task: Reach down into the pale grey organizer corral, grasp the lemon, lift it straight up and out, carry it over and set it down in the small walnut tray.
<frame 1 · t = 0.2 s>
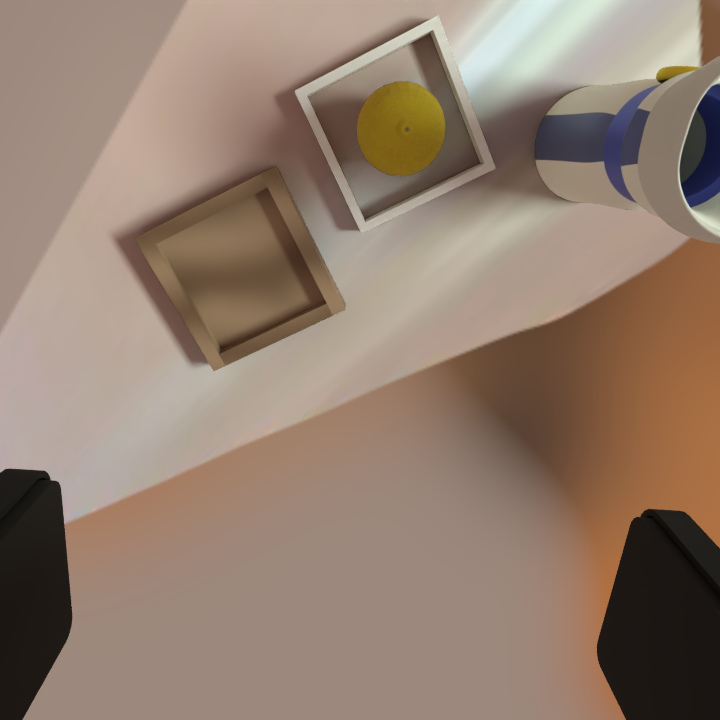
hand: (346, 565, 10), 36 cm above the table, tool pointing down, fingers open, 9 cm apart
water bottle: (585, 142, 42), on the table
corral: (395, 130, 42), on the table
tray: (245, 269, 45), on the table
lemon: (395, 130, 42), resting in corral
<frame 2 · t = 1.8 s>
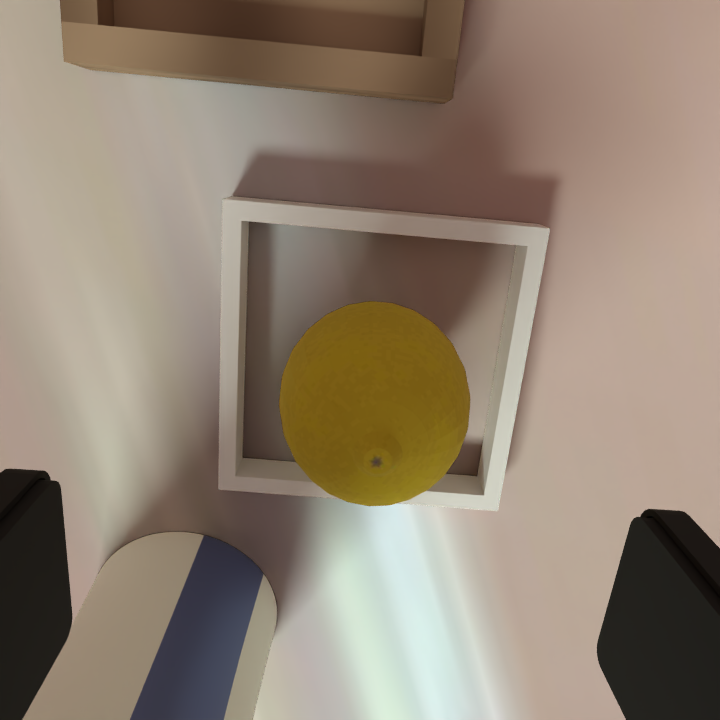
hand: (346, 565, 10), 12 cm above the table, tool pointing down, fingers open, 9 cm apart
water bottle: (192, 605, 25), on the table
corral: (371, 355, 22), on the table
lemon: (371, 353, 22), resting in corral
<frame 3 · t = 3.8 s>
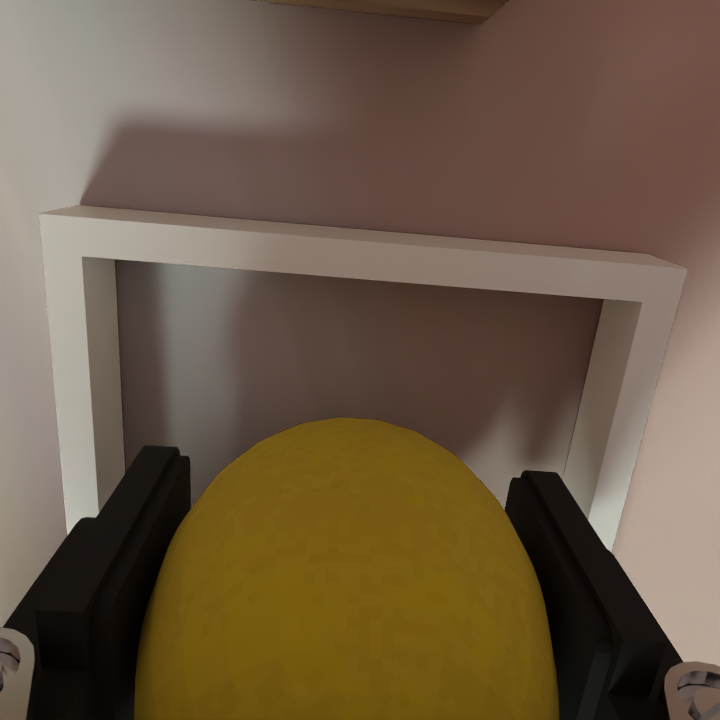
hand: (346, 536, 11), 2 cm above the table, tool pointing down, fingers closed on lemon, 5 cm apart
corral: (346, 479, 12), on the table
lemon: (346, 474, 13), resting in corral, touching gripper
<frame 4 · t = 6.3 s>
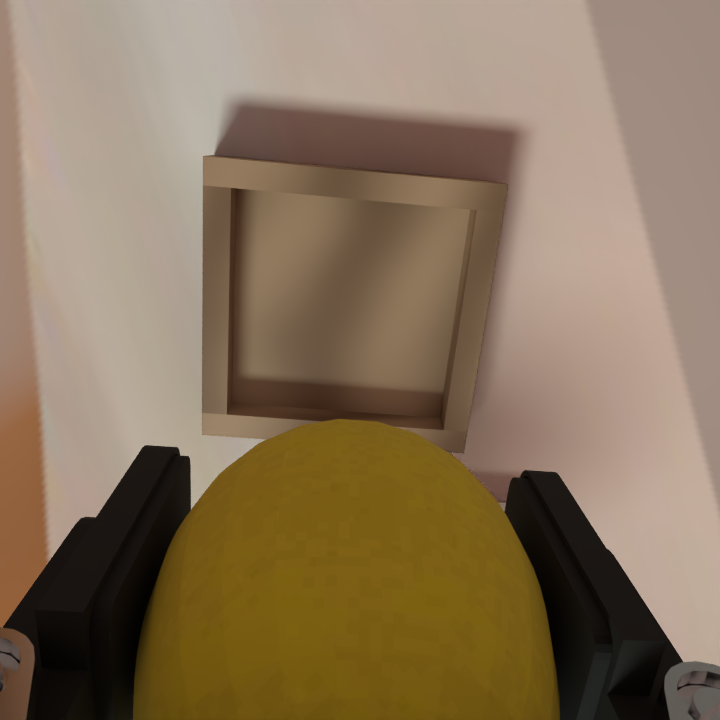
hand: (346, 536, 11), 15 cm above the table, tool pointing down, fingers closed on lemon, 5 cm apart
tray: (345, 306, 25), on the table
lemon: (346, 475, 13), point 13 cm above the table, touching gripper
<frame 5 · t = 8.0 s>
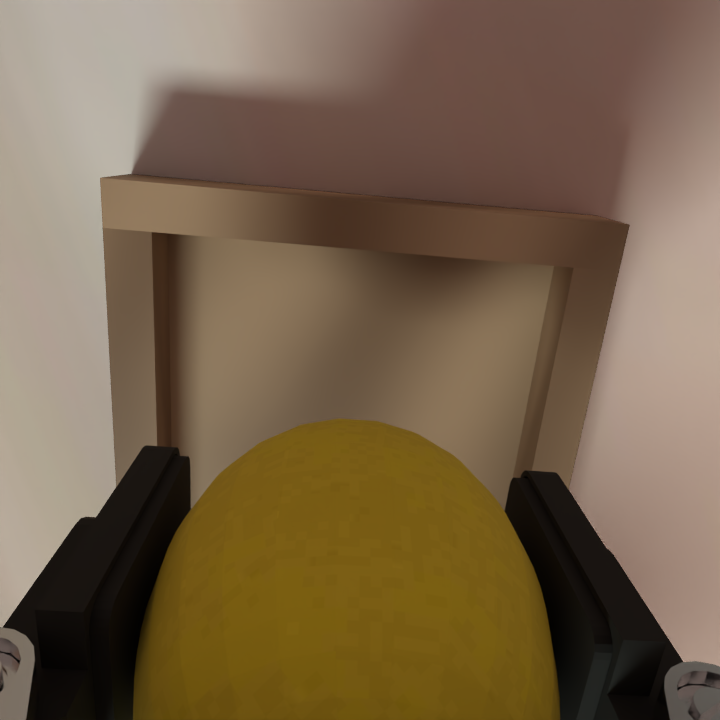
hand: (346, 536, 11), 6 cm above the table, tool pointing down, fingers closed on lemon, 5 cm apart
tray: (348, 409, 16), on the table
lemon: (346, 475, 13), point 4 cm above the table, touching gripper
when the fingers open (4 cm above the table, at t = 9.2 s): lemon drops 1 cm, resting on tray.
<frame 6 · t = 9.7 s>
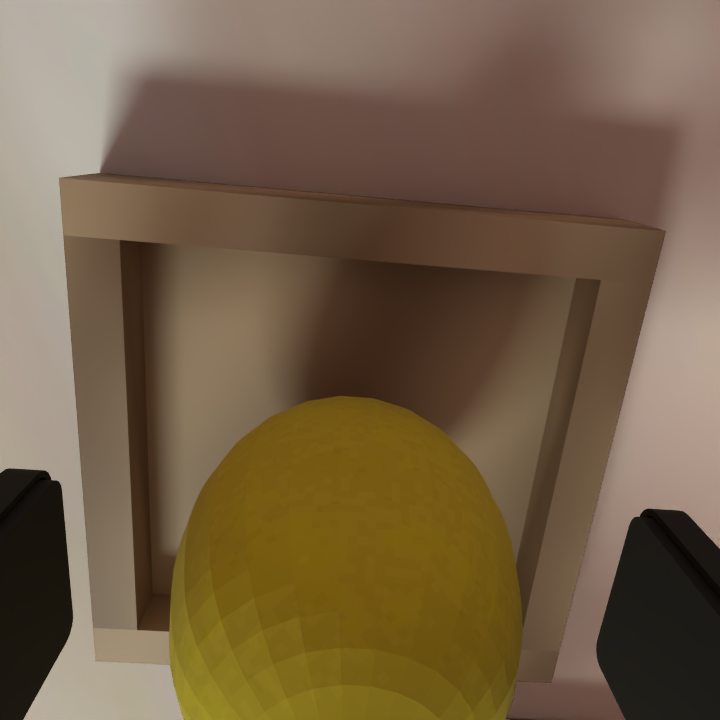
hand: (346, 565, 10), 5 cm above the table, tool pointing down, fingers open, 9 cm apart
tray: (345, 433, 14), on the table
lemon: (345, 448, 14), resting on tray
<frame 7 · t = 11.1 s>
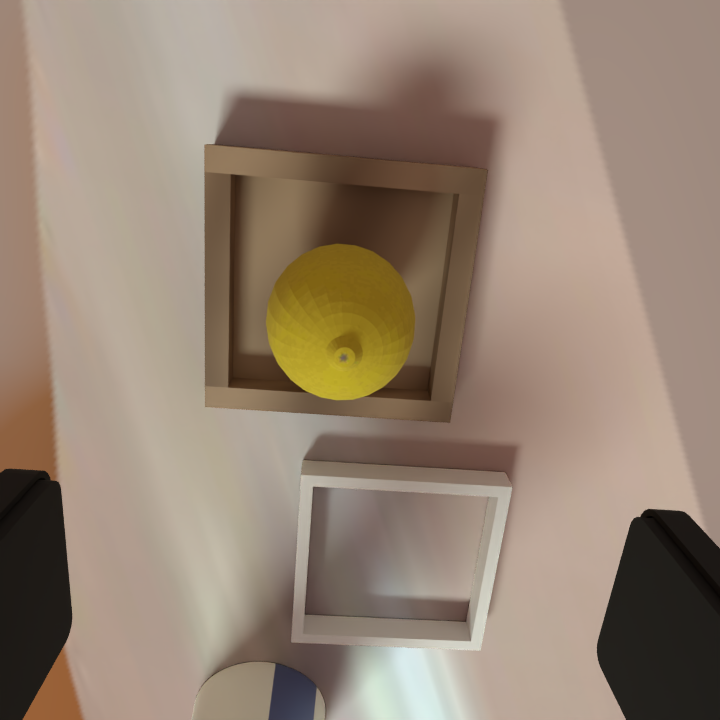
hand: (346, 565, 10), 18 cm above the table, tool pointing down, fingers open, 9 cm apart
water bottle: (265, 707, 36), on the table
corral: (394, 550, 32), on the table
tray: (338, 285, 27), on the table
lemon: (337, 291, 27), resting on tray
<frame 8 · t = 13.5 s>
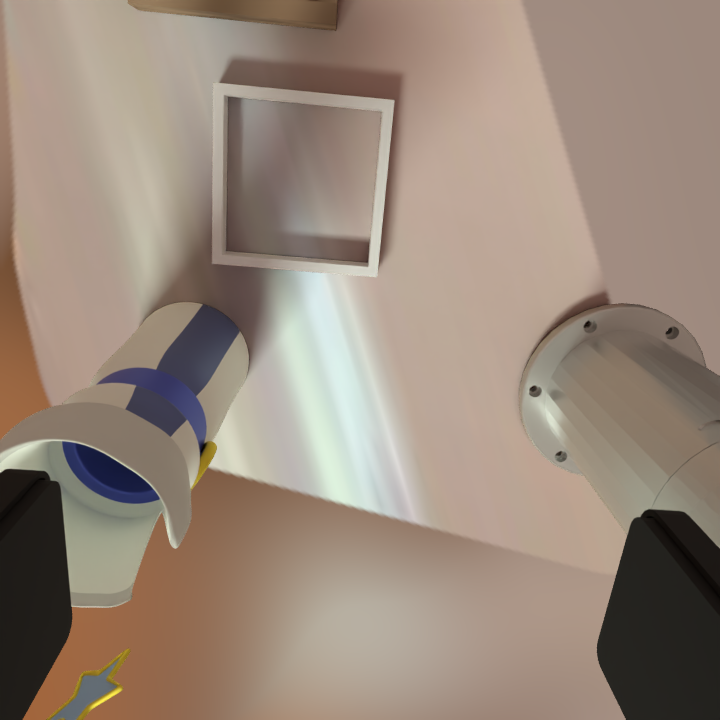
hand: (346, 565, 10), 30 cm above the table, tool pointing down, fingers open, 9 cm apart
water bottle: (196, 355, 41), on the table
corral: (301, 183, 37), on the table
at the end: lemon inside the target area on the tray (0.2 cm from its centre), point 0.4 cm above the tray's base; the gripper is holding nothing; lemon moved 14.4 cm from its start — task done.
